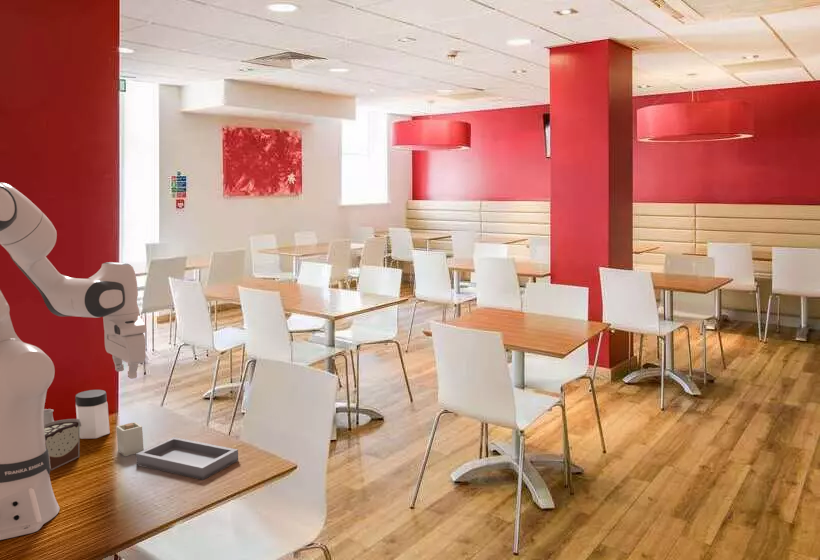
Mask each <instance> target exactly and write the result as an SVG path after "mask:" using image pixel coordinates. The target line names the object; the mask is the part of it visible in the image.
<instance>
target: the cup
mask: <svg viewBox="0 0 820 560" xmlns="http://www.w3.org/2000/svg"><path fill="white" fill-rule="evenodd" d="M115 428H116V440H117V442H116V443H117V452H118V453H120V454H121V455H122V456H123V457H129V456H133V455H136V454H137V453H139V452H141V451H143V450H145V449H144V439H143V438H144V435H143V426H142V425H141V424H139V423H137V422H136V421H135V422H134V421H133V422H129V423H124V424H121V425H116V427H115Z"/></svg>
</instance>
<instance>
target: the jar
mask: <svg viewBox="0 0 820 560" xmlns="http://www.w3.org/2000/svg"><path fill="white" fill-rule="evenodd" d="M107 395H108V394H107V392H106V390H103V389H89V390H84V391H81V392H78V393H76V394H75V396H74V397H75V398H74V400H75V413H76V415H75V416H76V419H79V421H80V422H81V426H80V431H79V440H80V439H81V440H83V439H87V440H88V439H90V440H91V439H98V438H101V437H103V436H106V435H109V434H110V421H109V404H108V401H107Z"/></svg>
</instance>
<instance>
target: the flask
mask: <svg viewBox="0 0 820 560" xmlns="http://www.w3.org/2000/svg"><path fill="white" fill-rule="evenodd" d="M53 412H54V409H51V408H48V409H47V408H44V425H45V424H47V423H50V422H54V421H55V420H54V414H53Z"/></svg>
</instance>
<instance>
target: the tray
mask: <svg viewBox="0 0 820 560" xmlns="http://www.w3.org/2000/svg"><path fill="white" fill-rule="evenodd" d="M135 457H136V466H141V467H144V468H149V469H153V470H158V471H162V472H166V473H171V474H176V475H179V476H184V477H188V478H193V479H196V480H201V481H204V480H206V479H208V478H209V477H211V476H213V475H215V474H217V473H219V472H220V471H222V470H224V469H226V468H228V467H229V466H231V465H233V464H235V463H237V462H238V461H239V449H238V448H232V447H227V446H222V445H215V444H211V443H206V442H201V441H197V440H196V441H195V440H191V439H186V438H179V437H175V436H173V437H170V438H169V439H166V440H164V441H161V442H159V443H157V444H155V445H153V446H150V447H148V448H146V449H144V450H143V451H141V452H139V453H136V454H135Z"/></svg>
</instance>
